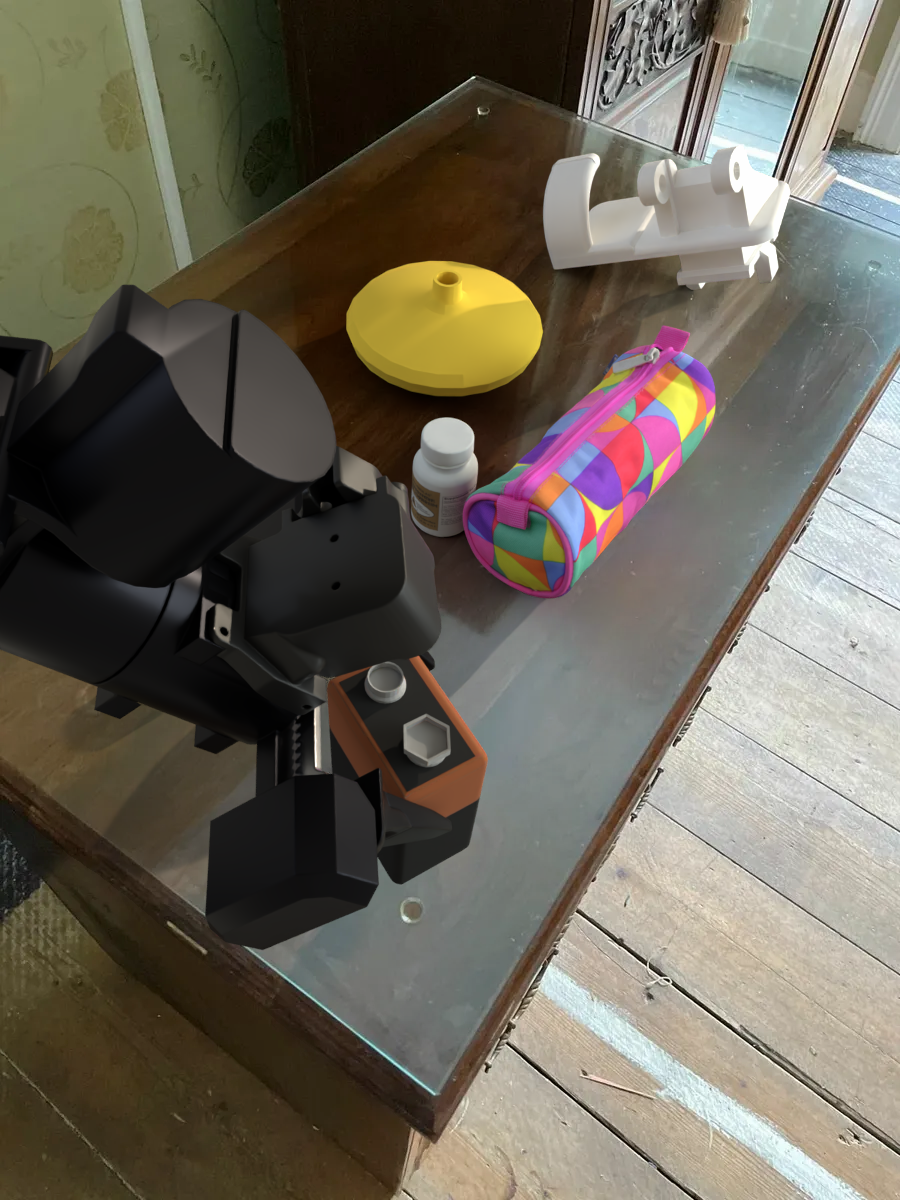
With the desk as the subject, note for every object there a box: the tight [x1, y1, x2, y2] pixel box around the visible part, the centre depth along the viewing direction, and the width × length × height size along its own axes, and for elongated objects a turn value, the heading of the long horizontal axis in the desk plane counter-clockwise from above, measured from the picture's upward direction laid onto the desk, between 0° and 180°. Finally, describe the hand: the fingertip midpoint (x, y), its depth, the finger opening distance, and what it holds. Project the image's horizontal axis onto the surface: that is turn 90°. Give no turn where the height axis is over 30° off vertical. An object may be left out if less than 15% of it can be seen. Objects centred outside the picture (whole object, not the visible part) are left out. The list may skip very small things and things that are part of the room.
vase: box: [346, 260, 544, 397], centre depth 76 cm, size 16×16×7 cm
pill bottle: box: [410, 417, 479, 538], centre depth 65 cm, size 4×4×8 cm
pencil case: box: [463, 324, 717, 599], centre depth 66 cm, size 22×9×9 cm, turn 145°
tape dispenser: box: [542, 145, 791, 291], centre depth 83 cm, size 20×11×13 cm, turn 61°
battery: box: [326, 656, 489, 885], centre depth 43 cm, size 4×7×10 cm, turn 31°
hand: (435, 745), depth 42 cm, fingers closed on battery, 7 cm apart
